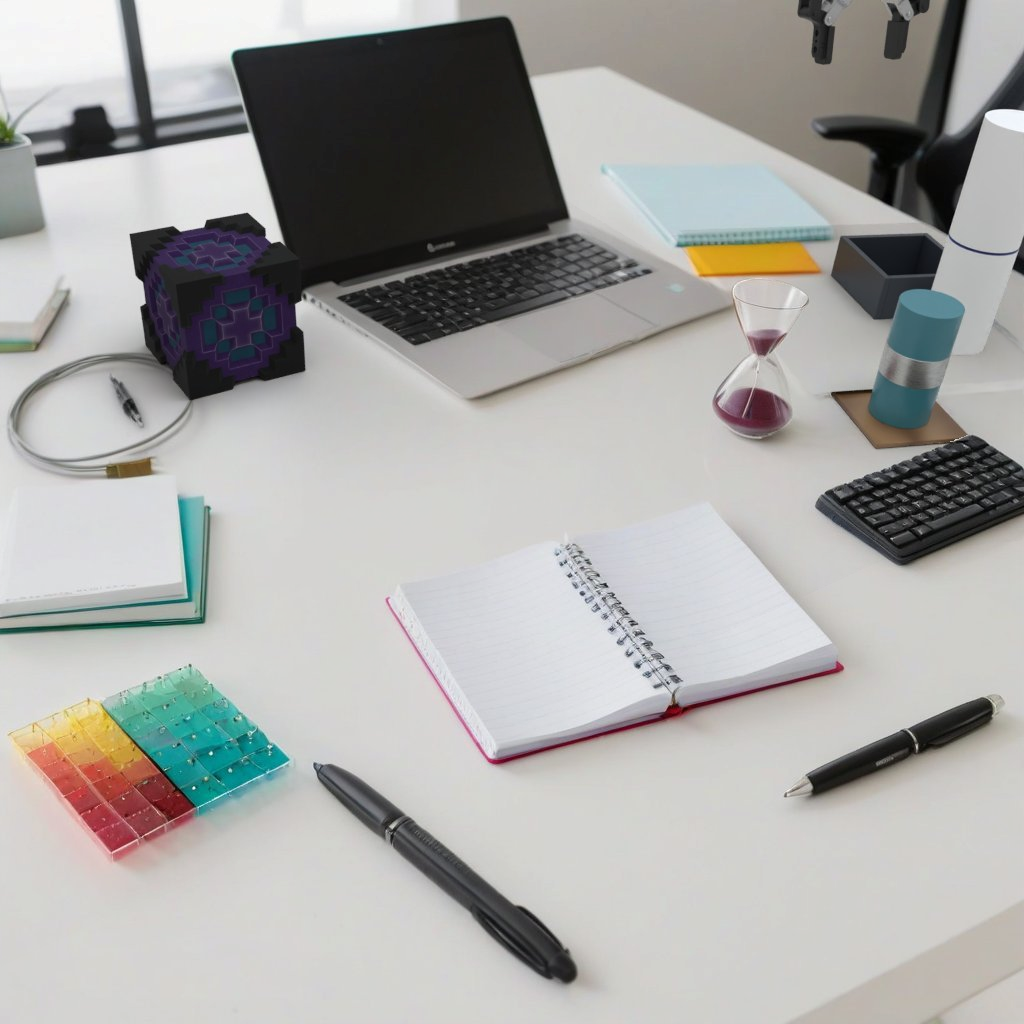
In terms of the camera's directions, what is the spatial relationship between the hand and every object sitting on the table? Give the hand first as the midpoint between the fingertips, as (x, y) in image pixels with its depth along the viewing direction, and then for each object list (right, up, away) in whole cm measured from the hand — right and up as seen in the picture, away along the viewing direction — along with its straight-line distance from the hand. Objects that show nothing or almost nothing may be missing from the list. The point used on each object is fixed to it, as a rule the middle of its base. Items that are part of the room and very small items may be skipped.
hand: (857, 61), depth 121 cm
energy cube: (-65, -32, -5) cm, 73 cm away
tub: (+9, -23, +15) cm, 28 cm away
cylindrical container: (+12, -29, +6) cm, 32 cm away
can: (+2, -38, -7) cm, 38 cm away
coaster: (+2, -38, -7) cm, 39 cm away
